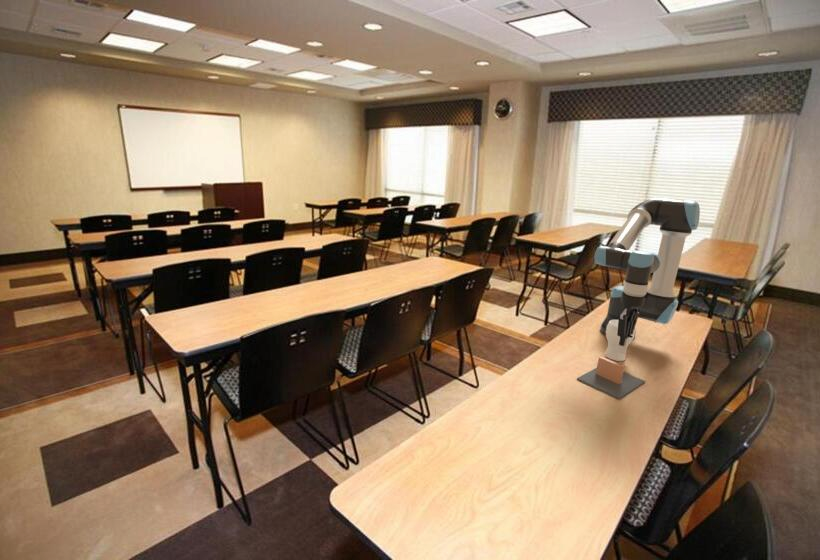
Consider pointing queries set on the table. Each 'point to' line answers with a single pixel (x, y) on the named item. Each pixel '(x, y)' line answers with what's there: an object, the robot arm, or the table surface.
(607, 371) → the slab
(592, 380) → the mat
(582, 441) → the table surface
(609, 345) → the cup
